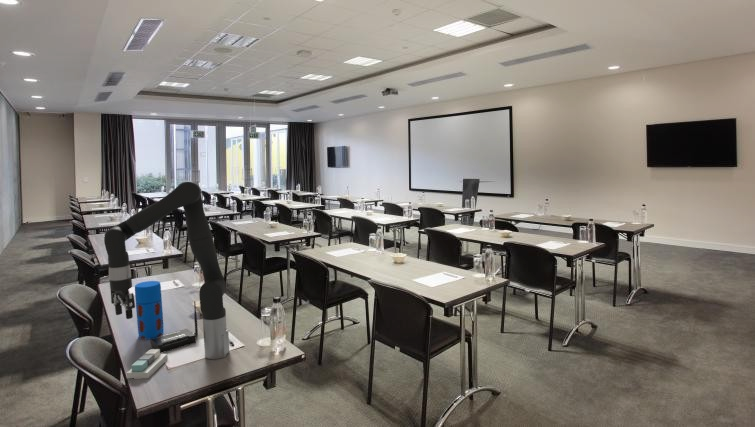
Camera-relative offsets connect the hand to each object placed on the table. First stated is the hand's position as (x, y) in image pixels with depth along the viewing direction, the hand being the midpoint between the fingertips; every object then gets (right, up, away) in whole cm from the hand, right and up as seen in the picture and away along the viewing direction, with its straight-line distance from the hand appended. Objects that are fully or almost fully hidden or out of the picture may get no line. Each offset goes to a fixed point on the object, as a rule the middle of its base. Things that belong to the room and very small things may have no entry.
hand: (124, 316), depth 172 cm
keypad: (+9, -21, +1) cm, 23 cm away
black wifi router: (+10, -19, +25) cm, 33 cm away
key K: (+9, -19, +5) cm, 21 cm away
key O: (+9, -20, -5) cm, 22 cm away
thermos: (-7, -17, +34) cm, 39 cm away
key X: (+9, -19, 0) cm, 21 cm away
